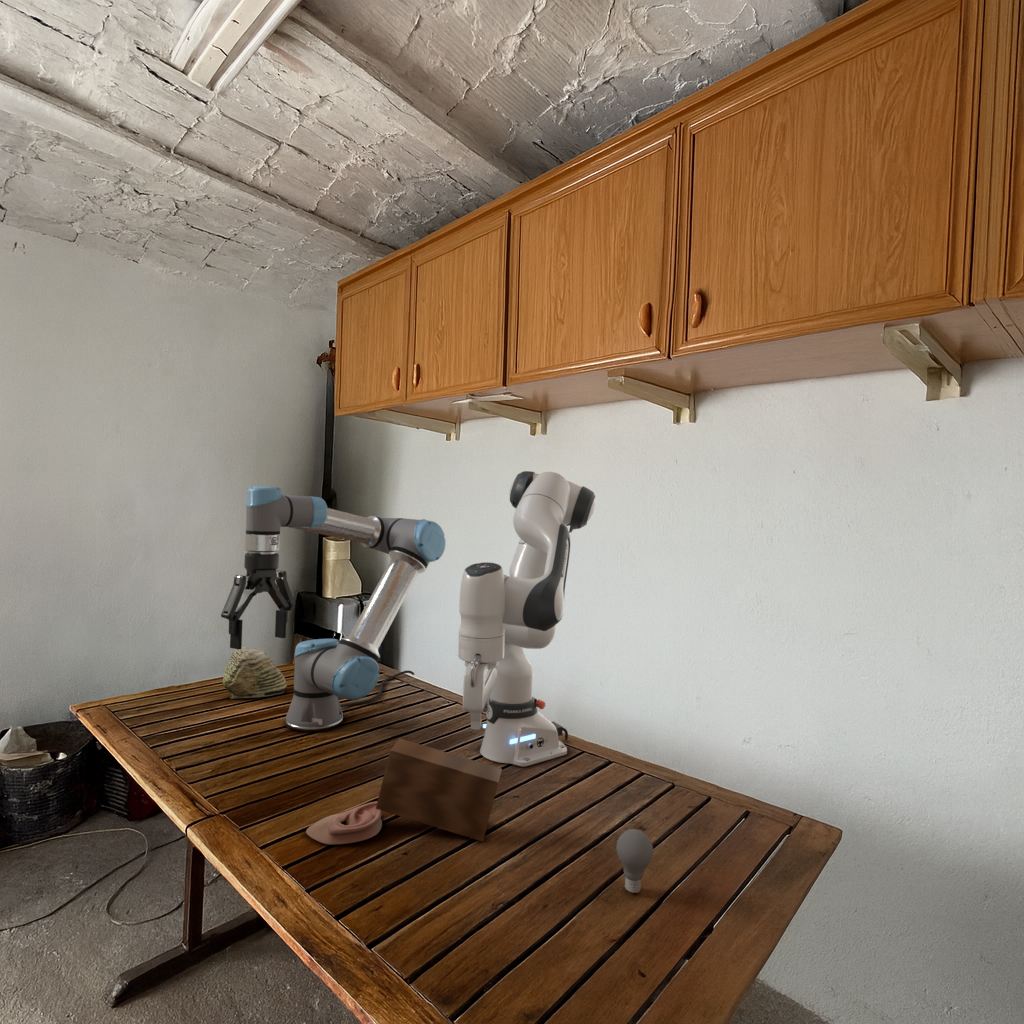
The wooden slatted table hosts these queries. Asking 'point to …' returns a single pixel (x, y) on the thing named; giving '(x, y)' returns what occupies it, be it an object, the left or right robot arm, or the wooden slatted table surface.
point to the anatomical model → (348, 825)
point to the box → (438, 789)
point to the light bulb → (634, 857)
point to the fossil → (252, 674)
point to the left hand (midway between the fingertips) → (258, 642)
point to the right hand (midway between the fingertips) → (480, 719)
